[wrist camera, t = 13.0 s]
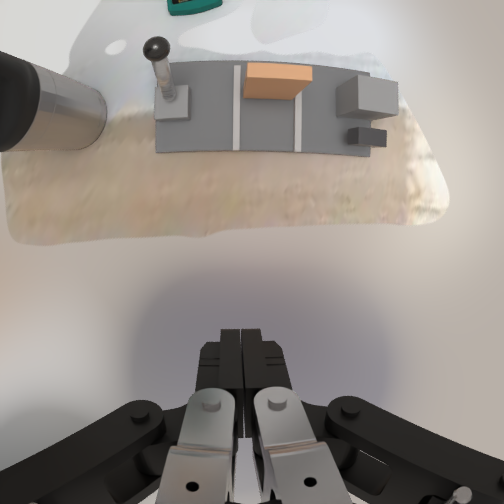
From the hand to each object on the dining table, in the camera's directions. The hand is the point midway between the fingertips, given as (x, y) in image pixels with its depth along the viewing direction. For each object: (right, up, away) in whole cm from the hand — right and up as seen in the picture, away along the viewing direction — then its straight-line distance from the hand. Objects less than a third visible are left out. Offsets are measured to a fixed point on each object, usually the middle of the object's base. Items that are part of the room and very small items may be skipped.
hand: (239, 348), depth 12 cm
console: (+2, +23, +27) cm, 35 cm away
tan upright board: (+2, +23, +25) cm, 34 cm away
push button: (+14, +18, +25) cm, 33 cm away
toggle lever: (-9, +21, +22) cm, 32 cm away
